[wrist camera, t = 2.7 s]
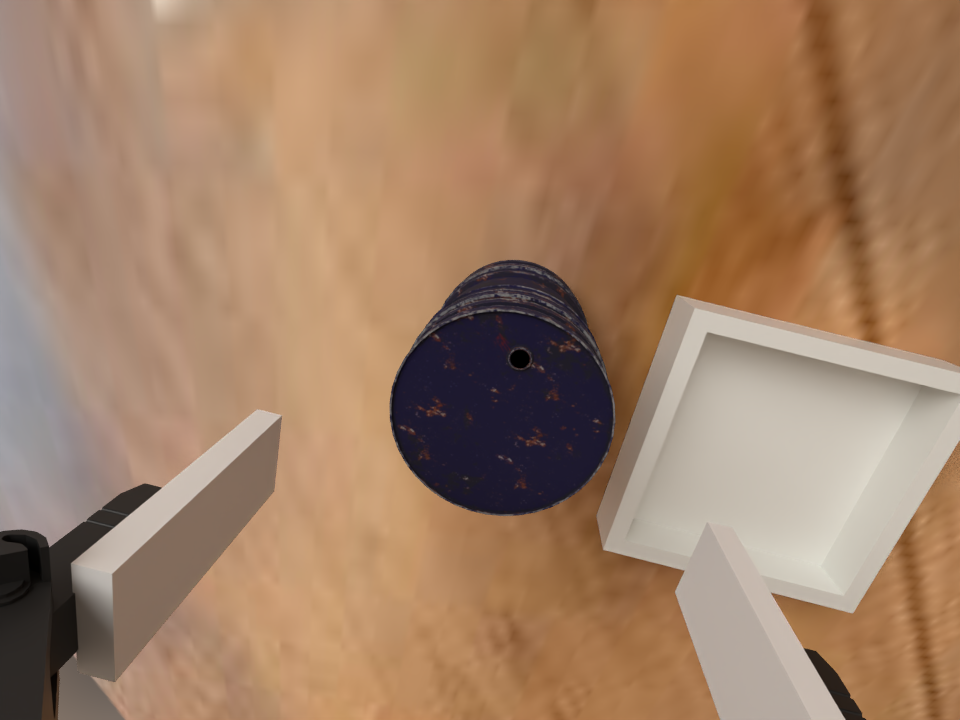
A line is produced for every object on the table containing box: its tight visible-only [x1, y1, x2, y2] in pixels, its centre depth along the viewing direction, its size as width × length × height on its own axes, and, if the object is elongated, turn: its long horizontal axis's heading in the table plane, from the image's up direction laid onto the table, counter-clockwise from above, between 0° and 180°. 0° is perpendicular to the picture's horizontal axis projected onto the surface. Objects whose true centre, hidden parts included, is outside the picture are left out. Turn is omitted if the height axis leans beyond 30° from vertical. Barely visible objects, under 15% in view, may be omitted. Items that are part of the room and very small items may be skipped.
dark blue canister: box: [390, 260, 615, 516], centre depth 29 cm, size 10×10×15 cm
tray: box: [596, 295, 960, 613], centre depth 35 cm, size 18×18×4 cm
